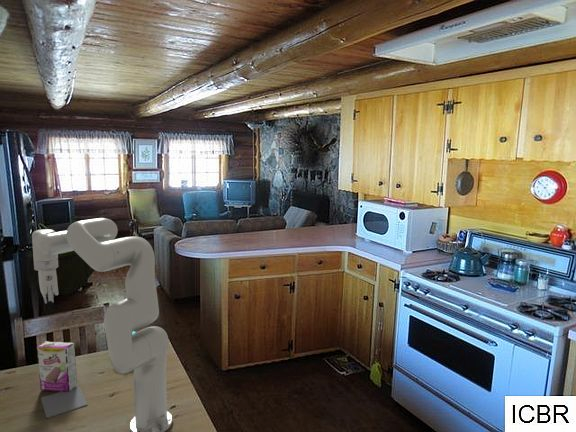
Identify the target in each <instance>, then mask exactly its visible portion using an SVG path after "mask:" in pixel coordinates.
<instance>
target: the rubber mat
mask: <svg viewBox="0 0 576 432" xmlns="http://www.w3.org/2000/svg"><path fill="white" fill-rule="evenodd" d="M40 400H41V404H42V408H43V411H44V416H45V418H46V419H50V418H52V417H55V416H59V415H62V414H65V413H69V412H71V411H75V410H77V409H81V408H83V407H86V406H87V407H88V403H87V400H86V398H85V396H84V394H83V391H82V389H81V387H80V386H76V387H74V388H73V389H72V390H71V391H70V392H63V391H57V392H56V393H51V394H49V395H46V396H42V397H40Z"/></svg>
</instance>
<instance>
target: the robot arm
mask: <svg viewBox="0 0 576 432" xmlns="http://www.w3.org/2000/svg"><path fill="white" fill-rule="evenodd" d="M118 231H119V229H118V226H117V224H116V223H115V221H113V220H112V219H110V218H105V217H98V218H97V217H96V218H90V219H84V220H78V221H75V222H72V223H71V224H70V225H68V227H67V229H66V230H61V231H56V230H54V229H52V228H51V229H49V228H48V229H47V228H45V229H44V228H43V229H37V230H34V231H33V232H32V234H31V242H32V253H33V255H32V256H33V269H34V271H38V274H37V275H38V284H39V285H38V286H39V290H40V293H41V295H42V297H43V313H44V314H45V315H46V314H52V313H55V300H54V296H58V295H60V294H59V287H58V275H57V268H59V254H64V253H68V252H69V253H70V252H73V251H74V252H75V253H76V255H78V256H79V257H80V258H81V259H82V260H83V261H84V262H85V263H86V264H87V265H88V266H89V267H90V268H91V269H92V270H94V271H96V272H101V273H103V272H107V271H108V272H109V271H112V270H116V269H119V268H123V267H125V266H130V267H129V269H128V270H127V272H126V275H125V281H124V282H125V283H124V287H125V293H126V297H125V298H124V299H122V300H119V301H116V302H114V303H112V304H111V305H110V306H108V307H107V308H106V311H105V313H104V319H103V321H104V323H103V324H104V331H105V338H106V344H107V352H108V356H109V357H108V358H109V361H110V363H111V366H112V368H113V369H114V370H115V372H117V373H119V374H124V375H125V374H128V373H130V372H133V379H132V380H133V402H134V403H133V404H134V405H133V407H134V417H133V418H132V419H131V420H130V423H129V431H130V432H166V431H168V430H169V428H171V426H172V424H173V415H172V413H170V411H168V406H167V405H168V403H167V401H168V399H167V358H168V351H169V345H170V344H169V342H170V341H169V337H168V334H167V332H166V331H165V329H164V328H162V327H160V326H155V325H154V326H149V325H150V324H152V323H154V322H155V321H156V320H157V319H158V318H159V314H160V307H159V298H158V292H157V284H156V277H155V276H156V275H155V271H156V270H155V265H156V263H155V262H156V259H155V257H156V256H155V252H154V249H153V247H152V245H151V243H150V242H149V241H148V240H146V238H143V237H142V236H136V235H134V236H125V237H120V238H116V237H117V235H118ZM146 326H148V327H146ZM139 329H140V330H139ZM136 330H138V331H136ZM133 331H135V332H136V333H134V334H132V332H133Z"/></svg>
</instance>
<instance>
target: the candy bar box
mask: <svg viewBox="0 0 576 432" xmlns="http://www.w3.org/2000/svg"><path fill="white" fill-rule="evenodd" d="M75 346H76V345H75V342H61V341H48V340H47V341H44V342H43V343H40V344H39V345H38V346H36V350H37V353H36V354H37V365H38V374H39V387H40V391H48V392H49V391H50V392H62V391H63V392H70V391H71V390H72V389H73V388H75V387H78V379H77V378H78V377H77V365H76V364H77V363H76V351H75V349H76V347H75Z"/></svg>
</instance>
